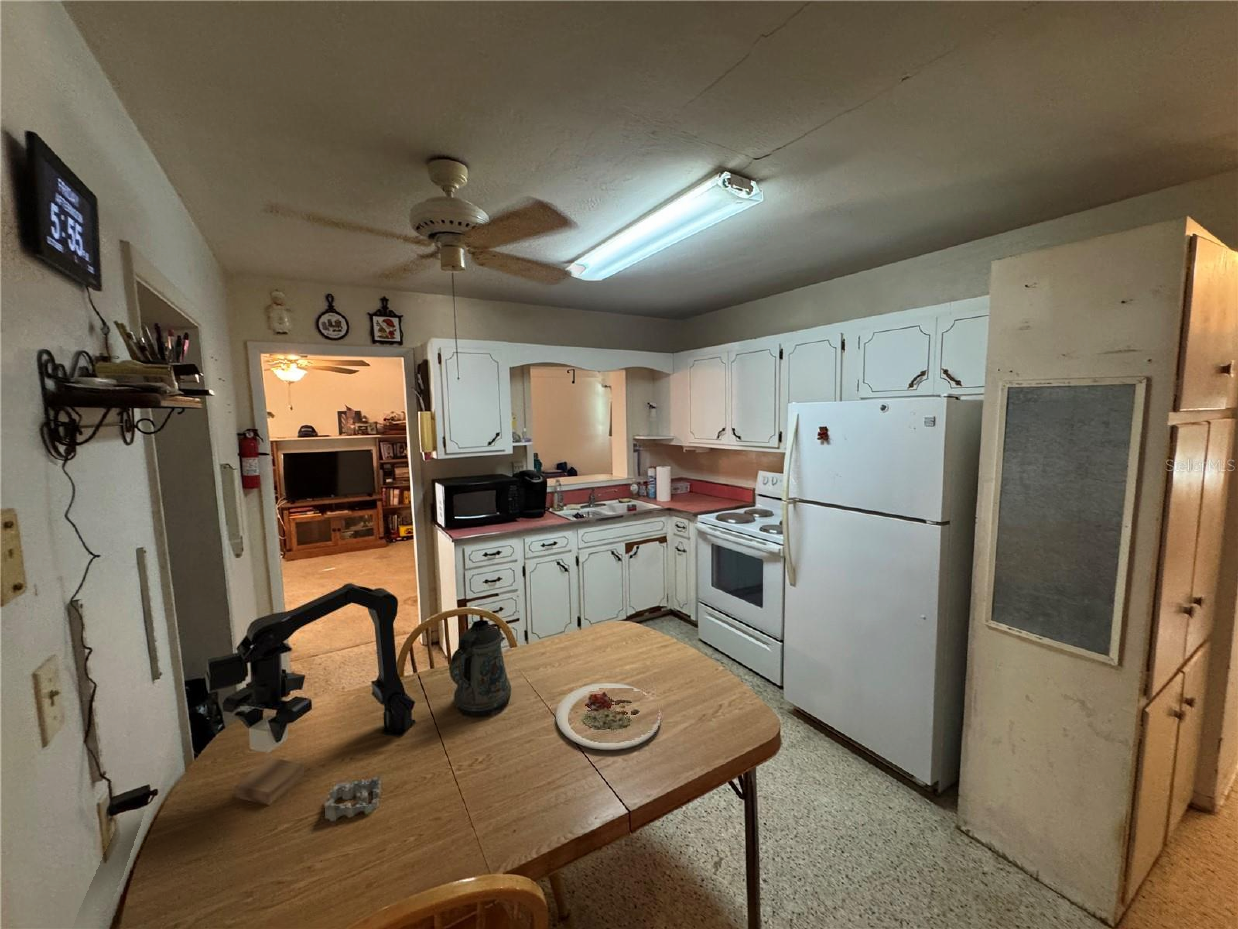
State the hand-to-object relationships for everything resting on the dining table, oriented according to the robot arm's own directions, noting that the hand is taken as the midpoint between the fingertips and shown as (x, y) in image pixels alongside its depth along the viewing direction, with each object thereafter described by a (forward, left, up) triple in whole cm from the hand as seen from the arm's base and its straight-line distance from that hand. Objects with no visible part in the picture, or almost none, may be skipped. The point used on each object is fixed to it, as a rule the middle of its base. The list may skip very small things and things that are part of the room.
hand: (269, 739), depth 111 cm
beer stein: (-32, -40, -12) cm, 52 cm away
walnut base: (0, 0, -11) cm, 11 cm away
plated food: (-70, -43, -12) cm, 83 cm away
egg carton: (-22, 0, -12) cm, 25 cm away
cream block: (0, 0, -1) cm, 1 cm away
